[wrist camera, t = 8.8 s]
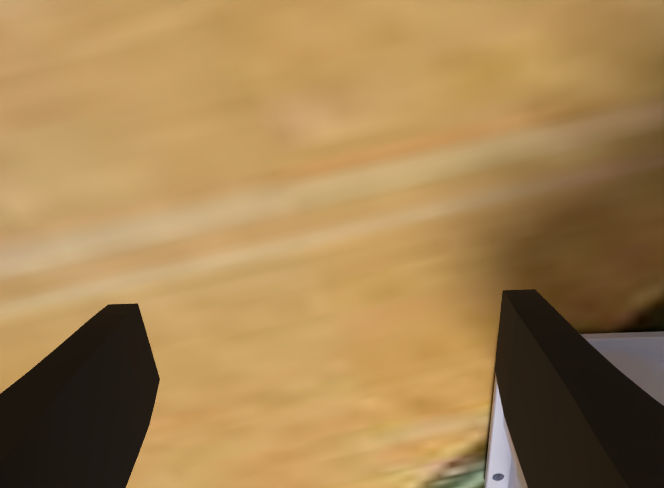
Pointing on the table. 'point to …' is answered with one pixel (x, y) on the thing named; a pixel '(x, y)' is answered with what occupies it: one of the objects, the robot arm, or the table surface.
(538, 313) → the robot arm
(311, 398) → the table surface
